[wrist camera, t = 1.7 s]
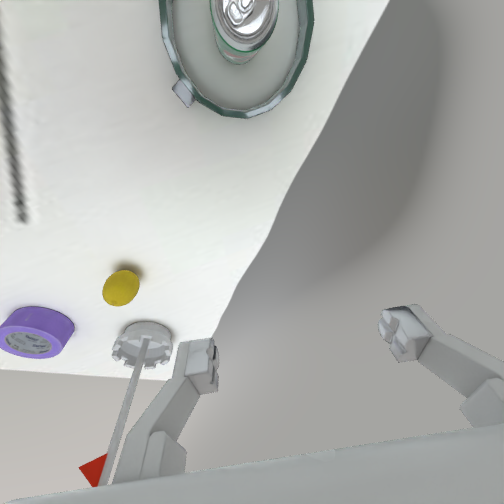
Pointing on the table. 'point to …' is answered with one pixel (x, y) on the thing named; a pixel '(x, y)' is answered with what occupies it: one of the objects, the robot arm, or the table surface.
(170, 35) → the dark green tabbed ring
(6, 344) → the tape roll
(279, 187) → the table surface
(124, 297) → the lemon
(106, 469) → the flag stand
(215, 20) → the soda can
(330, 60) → the table surface
